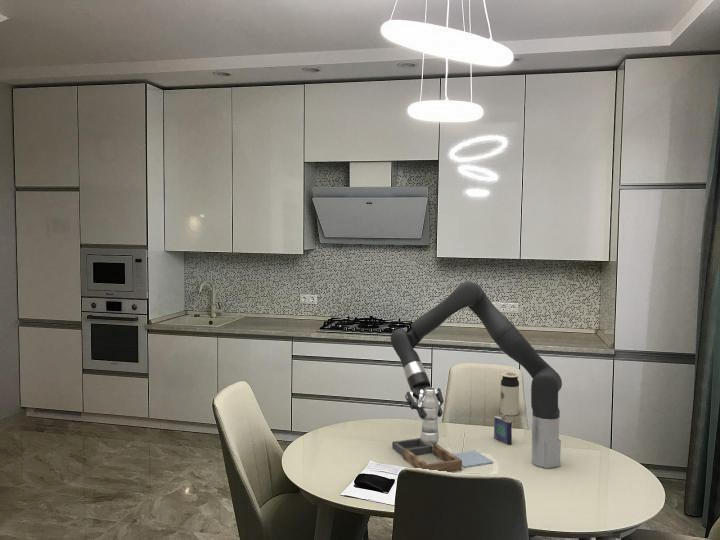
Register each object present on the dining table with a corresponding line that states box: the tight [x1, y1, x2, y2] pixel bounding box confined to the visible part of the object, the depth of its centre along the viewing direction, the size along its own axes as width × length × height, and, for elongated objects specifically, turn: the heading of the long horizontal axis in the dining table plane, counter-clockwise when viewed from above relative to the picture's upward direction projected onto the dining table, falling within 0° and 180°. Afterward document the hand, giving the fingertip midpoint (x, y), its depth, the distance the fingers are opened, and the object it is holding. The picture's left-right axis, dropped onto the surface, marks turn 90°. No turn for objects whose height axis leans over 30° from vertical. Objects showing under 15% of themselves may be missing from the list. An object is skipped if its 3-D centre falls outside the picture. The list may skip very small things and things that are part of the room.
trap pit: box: [391, 437, 433, 457], centre depth 230 cm, size 10×12×2 cm
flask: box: [493, 414, 513, 446], centre depth 240 cm, size 9×3×11 cm, turn 28°
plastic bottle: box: [419, 387, 440, 446], centre depth 217 cm, size 6×7×20 cm
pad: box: [452, 450, 494, 469], centre depth 221 cm, size 12×12×1 cm
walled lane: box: [402, 443, 463, 473], centre depth 216 cm, size 18×14×4 cm
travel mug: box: [500, 372, 520, 417], centre depth 277 cm, size 8×8×18 cm
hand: (432, 416), depth 215 cm, fingers closed on plastic bottle, 6 cm apart
